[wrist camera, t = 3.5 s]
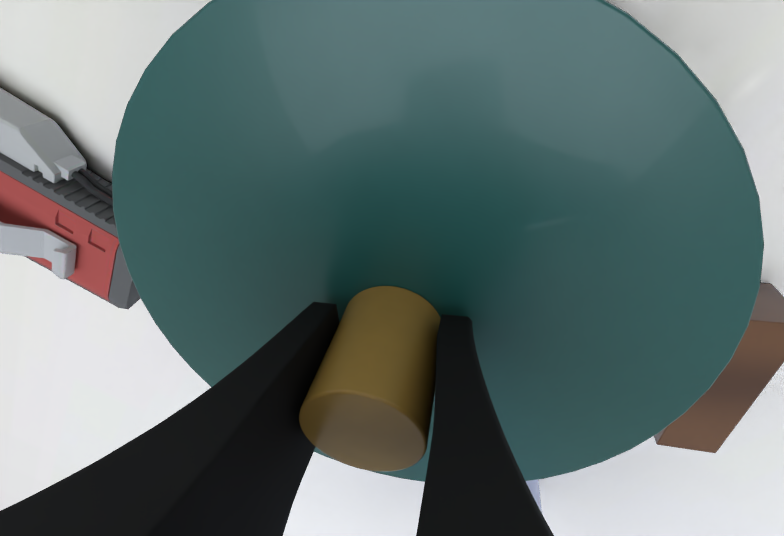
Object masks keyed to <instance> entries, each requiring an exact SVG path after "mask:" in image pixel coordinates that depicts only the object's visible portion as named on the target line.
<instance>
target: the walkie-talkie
mask: <svg viewBox="0 0 784 536" xmlns="http://www.w3.org/2000/svg"><path fill="white" fill-rule="evenodd" d="M86 166H87V163H86V160H85V159H84V157H83V156H82V155H81V154H80V152H79V151H78V150H77V148H76V147H75V146H74V145H73V143H72V142H71V141H70V139H69V138H68V137H67V136H66V134H65V133H64V132H63V131H62V129H61V128H60V127H59V125H58V124H57V123H56V122H55V121H54V120H52V119H51V118H49V117H47V116H46V115H44V114H43V113H41V112H39V111H38V110H36V109H34V108H33V107H31V106H29V105H28V104H26V103H25V102H23V101H21V100H20V99H18V98H16V97H15V96H13V95H11V94H10V93H8V92H7V91H5V90H3V89H2V88H0V253H3V254H12V255H21V256H25V257H27V258H29V259H30V260H32V261H34V262H36V263H38V264H39V265H41V266H43V267H45V268H47V269H48V270H50V271H52V272H53V273H54V274H55V275H56V276H58V277H59V278H60V279H67V280H69V281H71V282H73V283H74V284H76V285H78V286H80V287H82V288H83V289H85V290H88V291H89V292H91V293H93V294H95V295H97V296H99V297H100V298H102V299H104V300H106V301H108V302H109V303H111V304H113V305H115V306H117V307H118V308H124V309H129V308H130V307H131V306H132V305H133V304H135V303H136V302H137V301H138V300H139V299H140V295H139V293H138V291H137V289H136V287H135V284H134V282H133V280H132V278H131V276H130V274H129V271H128V268H127V265H126V262H125V259H124V256H123V253H122V250H121V247H120V243H119V240H118V234H117V229H116V223H115V218H114V212H113V194H112V184H111V183H109V182H107V181H106V180H104V179H103V178H101V177H99V176H97V175H96V174H94V173H93V172H91V171H89V170H87V169H86Z"/></svg>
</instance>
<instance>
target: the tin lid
mask: <svg viewBox="0 0 784 536" xmlns="http://www.w3.org/2000/svg"><path fill="white" fill-rule="evenodd" d="M112 194H113V212H114V218H115V223H116V229H117V234H118V240H119V243H120V247H121V250H122V253H123V256H124V259H125V262H126V265H127V268H128V271H129V274H130V276H131V278H132V280H133V282H134V284H135V287H136V289H137V291H138V293H139V295H140V298H141V299H142V301H143V303H144V305H145V306H146V308H147V310H148V311H149V313H150V315H151V316H152V318H153V320H154V321H155V323H156V325H157V326H158V327H159V329H160V330H161V331H162V333H163V334H164V335H165V337H166V338H167V340H168V341H169V342H170V344H171V345H172V346H173V348H174V349H175V350H176V351H177V352H178V353H179V354H180V356H181V357H182V358H183V359H184V360H185V361H186V362H187V363H188V365H189V366H190V367H191V368H192V369H193V370H194V371H195V372H196V373H197V374H198V375H199V376H200V377H201V378H202V379H203V380H205V381H206V382H207V383H208V384H209V385H210V386H211V387H213V386H214V385H215V384H216V383H218V382H219V381H220V380H222V379H223V378H224V377H225V376H227V375H228V374H229V373H230V372H232V371H233V370H234V369H236V368H237V367H238V366H239V365H241V364H242V363H243V362H244V361H246V360H247V359H248V358H249V357H250V356H252V355H253V354H254V353H255V352H256V351H257V350H259V349H260V348H261V347H262V346H263V345H264V344H266V343H267V342H268V341H269V340H270V339H271V338H273V337H274V336H275V335H276V334H277V333H278V332H279V331H281V330H282V329H283V328H284V327H285V326H286V325H287V324H288V323H290V322H291V321H292V320H293V319H294V318H295V317H296V316H298V315H299V314H300V313H301V312H302V311H303V310H304V309H306V308H307V307H308V306H309V305H310V304H311V303H313V302H321V303H331V304H336V305H337V311H338V317H339V324H338V327H337V329H336V331H335V333H334V335H333V338H332V340H331V342H330V344H329V346H328V349H327V351H326V353H325V355H324V357H323V360H322V362H321V364H320V366H319V368H318V371H317V373H316V375H315V377H314V379H313V382H312V384H311V386H310V388H309V390H308V393H307V395H306V397H305V399H304V401H303V403H302V406H301V408H300V411H299V422H300V426H301V429H302V431H303V433H304V434H305V436H306V437H307V438H308V440H309V441H310V442H311V443H312V444H313V445H314V446H315V449H314V452H316V453H319V454H321V455H323V456H326V457H329V458H331V459H334V460H337V461H339V462H342V463H344V464H347V465H350V466H353V467H356V468H360V469H365V470H369V471H372V472H376V473H380V474H385V475H389V476H394V477H399V478H403V479H410V480H417V481H424V482H425V479H426V473H427V466H428V460H429V453H430V447H431V440H432V434H433V423H434V408H435V379H436V350H437V334H438V329H439V324H440V319H441V315H442V314H445V315H456V316H466V317H469V318H470V319H471V320H472V326H473V335H474V341H475V346H476V351H477V355H478V359H479V363H480V367H481V370H482V374H483V377H484V380H485V383H486V386H487V389H488V392H489V395H490V398H491V401H492V404H493V406H494V409H495V412H496V414H497V417H498V419H499V422H500V424H501V427H502V429H503V432H504V434H505V437H506V439H507V442H508V444H509V446H510V449H511V451H512V453H513V455H514V458H515V460H516V462H517V464H518V466H519V468H520V471H521V473H522V475H523V477H524V479H525V481H530V480H537V479H544V478H548V477H552V476H556V475H561V474H565V473H569V472H573V471H576V470H579V469H582V468H585V467H588V466H591V465H594V464H597V463H600V462H603V461H605V460H608V459H610V458H612V457H614V456H616V455H619V454H621V453H623V452H625V451H628V450H630V449H632V448H634V447H635V446H637V445H639V444H640V443H642V442H644V441H646V440H647V439H649V438H651V437H652V436H654V435H656V434H657V433H659V432H660V431H662V430H663V429H664V428H666V427H667V426H668V425H670V424H671V423H672V422H674V421H675V420H676V419H678V418H679V417H680V416H681V415H683V414H684V413H685V412H686V411H687V410H688V409H689V408H690V407H691V406H692V405H693V404H694V403H695V402H696V401H697V400H698V399H699V398H700V397H701V396H702V395H703V394H704V393H705V392H706V391H707V390H708V389H709V388H710V387H711V386H712V385H713V383H714V382H715V381H716V379H717V378H718V376H719V375H720V374H721V372H722V371H723V370H724V368H725V367H726V366H727V364H728V363H729V362H730V360H731V359H732V357H733V355H734V353H735V351H736V349H737V347H738V345H739V343H740V341H741V339H742V337H743V335H744V333H745V331H746V329H747V327H748V325H749V322H750V319H751V315H752V312H753V309H754V305H755V302H756V298H757V295H758V292H759V288H760V280H761V270H762V260H763V249H764V240H763V230H762V221H761V211H760V202H759V195H758V192H757V189H756V186H755V183H754V180H753V177H752V173H751V170H750V167H749V164H748V161H747V158H746V155H745V151H744V149H743V147H742V145H741V143H740V141H739V140H738V138H737V136H736V134H735V132H734V131H733V129H732V127H731V125H730V123H729V122H728V120H727V118H726V116H725V114H724V113H723V111H722V109H721V107H720V105H719V104H718V102H717V100H716V99H715V98H714V97H713V95H712V94H711V93H710V92H709V91H708V89H707V88H706V87H705V86H704V85H703V83H702V82H701V81H700V80H699V79H698V77H697V76H696V75H695V74H694V73H693V72H692V70H691V69H690V68H689V67H688V66H687V64H686V63H685V62H684V61H683V60H682V58H681V57H680V56H679V55H678V54H677V53H676V52H675V51H673V50H672V49H671V48H670V47H669V46H667V45H666V44H665V43H664V42H662V41H661V40H660V39H659V38H658V37H656V36H655V35H654V34H653V33H651V32H650V31H649V30H648V29H647V28H645V27H644V26H643V25H642V24H641V23H639V22H638V21H637V20H636V19H634V18H633V17H632V16H631V15H630V14H628V13H627V12H625V11H623V10H621V9H620V8H618V7H616V6H614V5H612V4H611V3H609V2H607V1H605V0H212V1H210V2H208V3H207V4H206V5H205V6H204V7H203V8H202V9H201V10H199V11H198V12H197V13H196V14H195V15H194V16H193V17H191V18H190V19H189V20H188V21H187V22H186V23H185V24H183V25H182V26H181V27H180V28H179V29H178V30H177V31H176V32H174V33H173V34H172V36H171V37H170V38H169V39H168V41H167V42H166V43H165V45H164V46H163V47H162V48H161V50H160V51H159V52H158V54H157V55H156V56H155V57H154V59H153V60H152V61H151V63H150V64H149V65H148V66H147V68H146V69H145V71H144V73H143V75H142V77H141V79H140V81H139V83H138V85H137V87H136V89H135V90H134V92H133V94H132V96H131V98H130V100H129V102H128V104H127V107H126V110H125V113H124V117H123V120H122V123H121V127H120V130H119V133H118V137H117V140H116V146H115V155H114V163H113V171H112Z"/></svg>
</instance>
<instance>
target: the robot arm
mask: <svg viewBox="0 0 784 536" xmlns="http://www.w3.org/2000/svg"><path fill="white" fill-rule="evenodd" d="M338 324H339V317H338V311H337V305H336V304H331V303H321V302H313V303H311V304H310V305H309V306H308V307H307V308H306V309H304V310H303V311H302V312H301V313H300V314H299V315H298V316H296V317H295V318H294V319H293V320H292V321H291V322H290V323H288V324H287V325H286V326H285V327H284V328H283V329H282V330H281V331H279V332H278V333H277V334H276V335H275V336H274V337H273V338H271V339H270V340H269V341H268V342H267V343H266V344H264V345H263V346H262V347H261V348H260V349H259V350H257V351H256V352H255V353H254V354H253V355H252V356H250V357H249V358H248V359H247V360H246V361H244V362H243V363H242V364H241V365H239V366H238V367H237V368H236V369H234V370H233V371H232V372H230V373H229V374H228V375H227V376H225V377H224V378H223V379H222V380H220V381H219V382H218V383H216V384H215V385H214V386H213V387H211V388H210V389H209V390H207V391H206V392H205V393H203V394H202V395H200V396H199V397H198V398H196V399H195V400H193V401H192V402H191V403H189V404H188V405H186V406H185V407H183V408H182V409H180V410H179V411H177V412H176V413H174V414H173V415H171V416H170V417H168V418H167V419H166V420H164V421H163V422H161V423H159V424H158V425H156V426H155V427H153V428H152V429H150V430H148V431H147V432H145V433H143V434H142V435H140V436H138V437H137V438H135V439H133V440H132V441H130V442H128V443H127V444H125V445H123V446H122V447H120V448H118V449H117V450H115V451H113V452H112V453H110V454H108V455H107V456H105V457H103V458H101V459H100V460H98V461H96V462H94V463H93V464H91V465H89V466H87V467H85V468H83V469H82V470H80V471H78V472H76V473H74V474H72V475H71V476H69V477H67V478H65V479H63V480H61V481H59V482H57V483H55V484H53V485H52V486H50V487H48V488H46V489H44V490H42V491H40V492H38V493H36V494H34V495H32V496H30V497H28V498H26V499H24V500H22V501H20V502H18V503H16V504H14V505H12V506H10V507H8V508H6V509H4V510H1V511H0V536H283V532H284V529H285V526H286V523H287V520H288V517H289V513H290V510H291V507H292V504H293V501H294V498H295V496H296V493H297V490H298V488H299V485H300V483H301V480H302V478H303V475H304V473H305V471H306V468H307V466H308V464H309V461H310V459H311V456H312V454H313V452H314V449H315V446H314V445H313V444H312V443H311V442H310V441H309V440H308V438H307V437H306V436H305V434H304V433H303V431H302V429H301V426H300V422H299V411H300V408H301V406H302V403H303V401H304V399H305V397H306V395H307V393H308V390H309V388H310V386H311V384H312V382H313V379H314V377H315V375H316V373H317V371H318V368H319V366H320V364H321V362H322V360H323V357H324V355H325V353H326V351H327V349H328V346H329V344H330V342H331V340H332V338H333V335H334V333H335V331H336V329H337V327H338ZM416 536H554V535H553V533H552V532H551V530H550V528H549V526H548V524H547V523H546V521H545V519H544V517H543V515H542V511H541V500H540V489H539V479H537V480H530V481H525V479H524V477H523V475H522V473H521V471H520V468H519V466H518V464H517V462H516V460H515V458H514V455H513V453H512V451H511V449H510V446H509V444H508V442H507V439H506V437H505V434H504V432H503V429H502V427H501V424H500V422H499V419H498V417H497V414H496V412H495V409H494V406H493V404H492V401H491V398H490V395H489V392H488V389H487V386H486V383H485V380H484V377H483V374H482V370H481V367H480V363H479V359H478V355H477V351H476V346H475V341H474V335H473V326H472V320H471V319H470V318H469V317H466V316H456V315H445V314H442V315H441V319H440V324H439V329H438V334H437V350H436V379H435V408H434V423H433V434H432V440H431V447H430V453H429V460H428V466H427V473H426V479H425V486H424V492H423V498H422V504H421V511H420V517H419V523H418V529H417V535H416Z"/></svg>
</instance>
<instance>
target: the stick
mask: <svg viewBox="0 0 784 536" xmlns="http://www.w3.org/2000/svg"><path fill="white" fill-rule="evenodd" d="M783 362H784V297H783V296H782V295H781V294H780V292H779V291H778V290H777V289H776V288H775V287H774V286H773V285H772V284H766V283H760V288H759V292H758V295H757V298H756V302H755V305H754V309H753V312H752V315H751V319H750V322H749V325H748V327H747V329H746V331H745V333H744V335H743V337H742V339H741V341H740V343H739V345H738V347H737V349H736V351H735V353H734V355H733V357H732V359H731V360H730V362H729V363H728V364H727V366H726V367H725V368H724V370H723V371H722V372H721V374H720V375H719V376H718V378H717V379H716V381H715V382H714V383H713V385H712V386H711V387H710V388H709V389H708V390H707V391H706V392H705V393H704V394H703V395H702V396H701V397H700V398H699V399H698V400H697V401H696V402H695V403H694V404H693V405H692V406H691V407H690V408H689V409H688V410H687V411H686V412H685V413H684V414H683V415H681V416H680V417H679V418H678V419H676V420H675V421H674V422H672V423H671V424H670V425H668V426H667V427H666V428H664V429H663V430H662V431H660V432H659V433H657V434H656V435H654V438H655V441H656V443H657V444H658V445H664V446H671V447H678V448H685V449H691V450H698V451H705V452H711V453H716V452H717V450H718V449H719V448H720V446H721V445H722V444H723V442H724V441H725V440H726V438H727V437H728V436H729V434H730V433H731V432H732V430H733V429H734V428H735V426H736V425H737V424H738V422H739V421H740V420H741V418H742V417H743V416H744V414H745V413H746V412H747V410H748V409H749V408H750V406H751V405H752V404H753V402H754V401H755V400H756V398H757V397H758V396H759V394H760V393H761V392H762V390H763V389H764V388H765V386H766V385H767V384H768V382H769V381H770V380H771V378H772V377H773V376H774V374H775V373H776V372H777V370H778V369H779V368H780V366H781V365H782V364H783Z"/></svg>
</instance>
